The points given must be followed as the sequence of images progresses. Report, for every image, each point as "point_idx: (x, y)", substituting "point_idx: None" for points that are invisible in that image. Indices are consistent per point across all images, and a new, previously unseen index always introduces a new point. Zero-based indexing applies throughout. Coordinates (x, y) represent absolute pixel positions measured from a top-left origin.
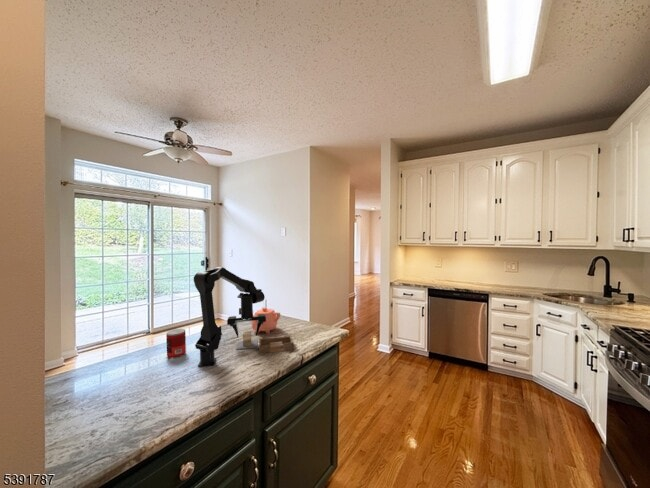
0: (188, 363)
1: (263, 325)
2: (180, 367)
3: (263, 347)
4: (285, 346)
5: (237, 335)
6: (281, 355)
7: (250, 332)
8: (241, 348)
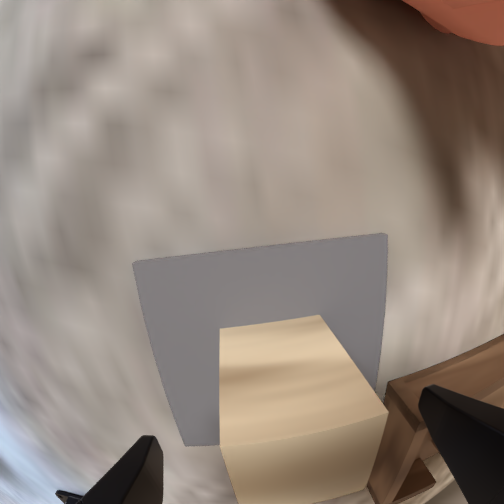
0: (25, 482)
1: (486, 7)
2: (27, 493)
3: (398, 494)
4: None
5: (154, 481)
6: (445, 463)
7: (364, 468)
8: None
